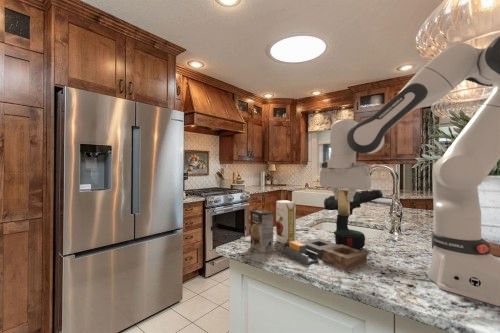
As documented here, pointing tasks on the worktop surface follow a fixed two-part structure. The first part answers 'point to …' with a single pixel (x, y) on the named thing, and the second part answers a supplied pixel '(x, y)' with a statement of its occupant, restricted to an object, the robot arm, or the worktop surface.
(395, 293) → the worktop surface
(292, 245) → the orange rectangular block
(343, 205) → the brass peg
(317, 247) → the socket block
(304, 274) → the worktop surface
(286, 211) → the juice carton
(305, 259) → the rail
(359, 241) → the power drill
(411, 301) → the worktop surface
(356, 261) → the brown wooden box
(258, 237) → the coffee box
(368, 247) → the worktop surface
